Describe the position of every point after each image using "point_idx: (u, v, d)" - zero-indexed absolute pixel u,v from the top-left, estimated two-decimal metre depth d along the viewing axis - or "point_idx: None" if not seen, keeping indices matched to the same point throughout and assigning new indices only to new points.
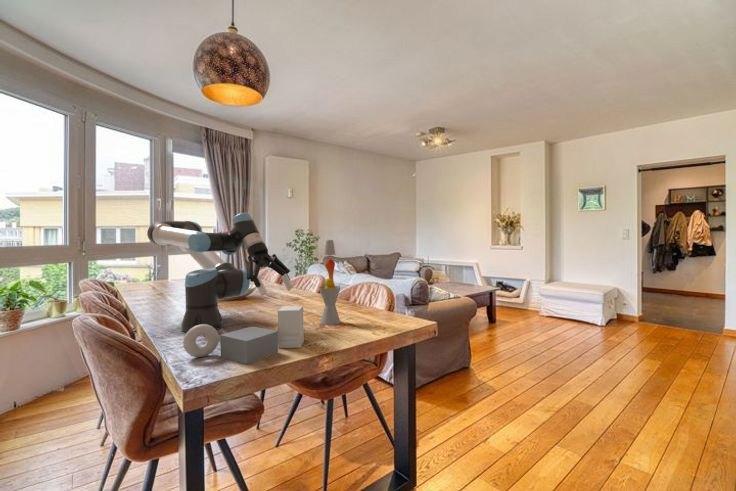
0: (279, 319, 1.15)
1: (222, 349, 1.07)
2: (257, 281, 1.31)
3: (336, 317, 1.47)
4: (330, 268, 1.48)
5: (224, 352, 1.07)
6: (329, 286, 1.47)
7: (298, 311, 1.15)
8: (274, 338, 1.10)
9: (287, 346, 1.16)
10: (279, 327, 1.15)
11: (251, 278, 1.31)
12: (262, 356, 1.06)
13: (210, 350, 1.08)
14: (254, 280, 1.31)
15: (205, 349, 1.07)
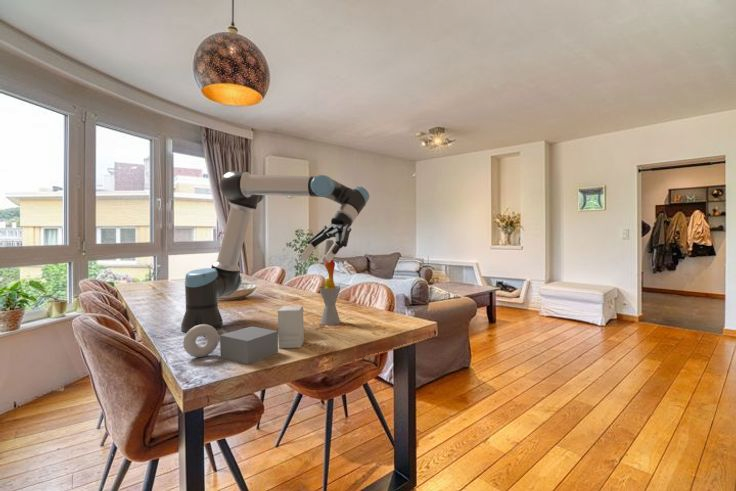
0: (279, 319, 1.15)
1: (222, 349, 1.07)
2: None
3: (336, 317, 1.47)
4: (330, 268, 1.48)
5: (224, 352, 1.06)
6: (329, 286, 1.47)
7: (298, 311, 1.15)
8: (275, 338, 1.10)
9: (287, 346, 1.16)
10: (279, 327, 1.15)
11: (341, 245, 1.23)
12: (262, 356, 1.06)
13: (210, 350, 1.08)
14: (339, 247, 1.23)
15: (205, 349, 1.07)
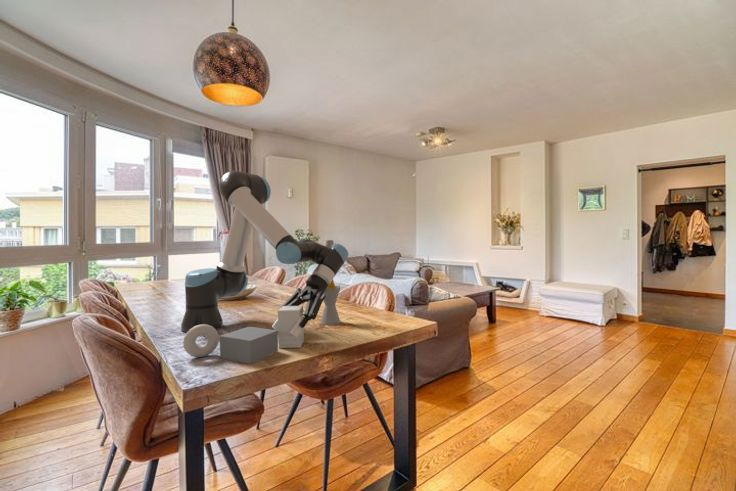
0: (279, 319, 1.15)
1: (222, 350, 1.06)
2: None
3: (336, 317, 1.47)
4: None
5: (224, 353, 1.06)
6: (329, 286, 1.47)
7: (298, 311, 1.15)
8: (275, 337, 1.11)
9: (287, 346, 1.16)
10: (279, 327, 1.15)
11: (310, 317, 1.15)
12: (264, 355, 1.07)
13: (210, 350, 1.08)
14: (306, 320, 1.15)
15: (205, 349, 1.07)
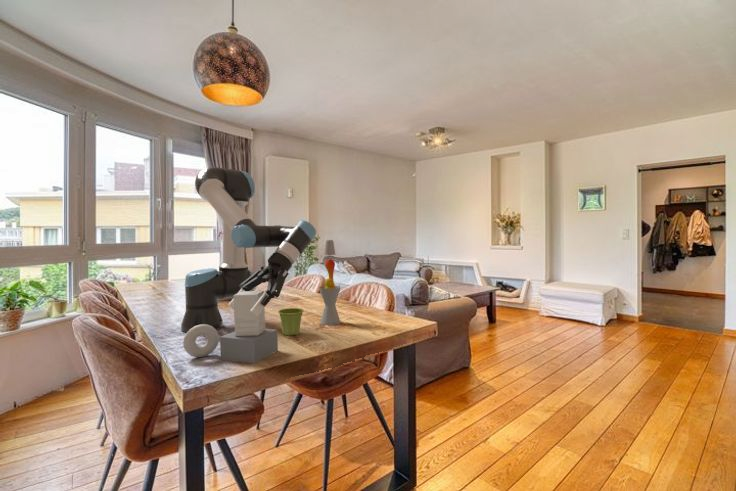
0: (235, 305, 1.06)
1: (223, 351, 1.05)
2: None
3: (336, 317, 1.47)
4: (330, 268, 1.48)
5: (225, 354, 1.05)
6: (329, 286, 1.47)
7: (256, 295, 1.06)
8: (275, 337, 1.12)
9: (244, 334, 1.06)
10: (235, 313, 1.06)
11: (273, 295, 1.05)
12: (266, 355, 1.07)
13: (210, 350, 1.08)
14: (269, 297, 1.05)
15: (205, 349, 1.07)
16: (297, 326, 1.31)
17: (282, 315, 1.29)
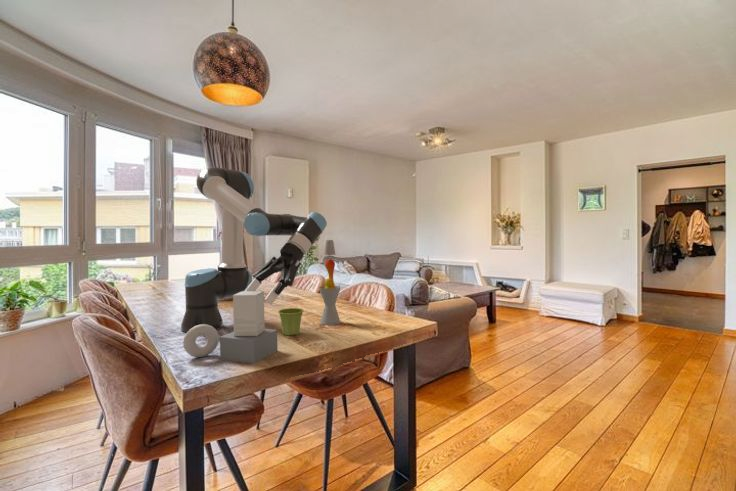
0: (234, 305, 1.06)
1: (222, 351, 1.06)
2: None
3: (336, 317, 1.47)
4: (330, 268, 1.48)
5: (225, 354, 1.05)
6: (329, 286, 1.47)
7: (255, 296, 1.05)
8: (275, 337, 1.12)
9: (243, 334, 1.06)
10: (234, 313, 1.06)
11: (286, 284, 1.07)
12: (265, 355, 1.07)
13: (210, 350, 1.08)
14: (283, 286, 1.07)
15: (205, 349, 1.07)
16: (297, 326, 1.31)
17: (282, 315, 1.29)
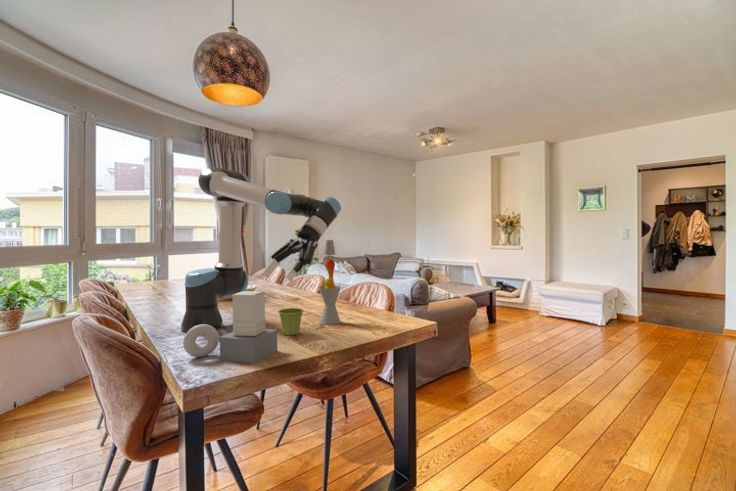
0: (233, 304, 1.06)
1: (222, 351, 1.06)
2: None
3: (336, 317, 1.47)
4: (330, 268, 1.48)
5: (225, 354, 1.05)
6: (329, 286, 1.47)
7: (253, 296, 1.05)
8: (275, 337, 1.12)
9: (241, 334, 1.06)
10: (233, 313, 1.06)
11: (305, 262, 1.13)
12: (265, 355, 1.07)
13: (210, 350, 1.08)
14: (302, 264, 1.13)
15: (205, 349, 1.07)
16: (297, 326, 1.31)
17: (282, 315, 1.29)
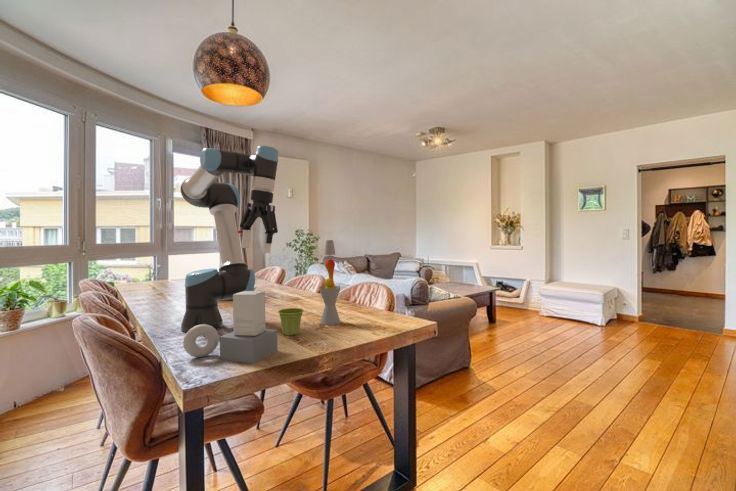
0: (234, 304, 1.06)
1: (222, 351, 1.06)
2: None
3: (336, 317, 1.47)
4: (330, 268, 1.48)
5: (225, 353, 1.05)
6: (329, 286, 1.47)
7: (253, 295, 1.05)
8: (275, 337, 1.12)
9: (242, 333, 1.06)
10: (234, 312, 1.06)
11: (272, 233, 1.19)
12: (265, 355, 1.07)
13: (210, 350, 1.08)
14: (271, 235, 1.20)
15: (205, 349, 1.07)
16: (297, 326, 1.31)
17: (282, 315, 1.29)
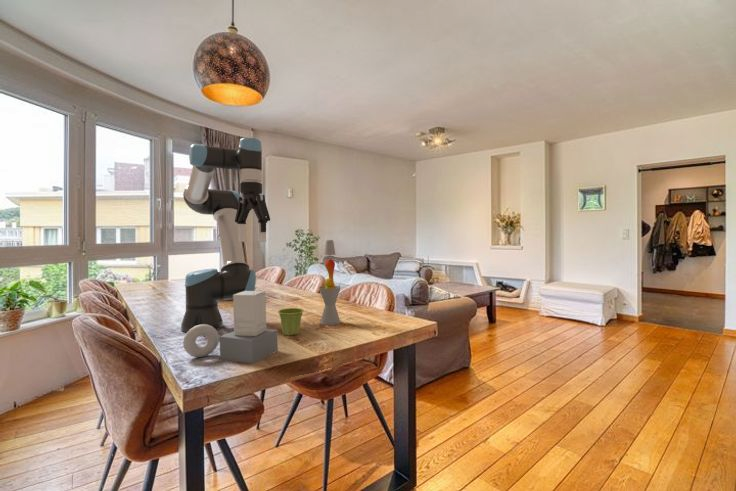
0: (234, 304, 1.06)
1: (222, 350, 1.06)
2: None
3: (336, 317, 1.47)
4: (330, 268, 1.48)
5: (225, 353, 1.06)
6: (329, 286, 1.47)
7: (253, 296, 1.05)
8: (275, 337, 1.12)
9: (242, 334, 1.06)
10: (234, 313, 1.06)
11: (265, 221, 1.21)
12: (265, 355, 1.07)
13: (210, 350, 1.08)
14: (264, 224, 1.21)
15: (205, 349, 1.07)
16: (297, 326, 1.31)
17: (282, 315, 1.29)
